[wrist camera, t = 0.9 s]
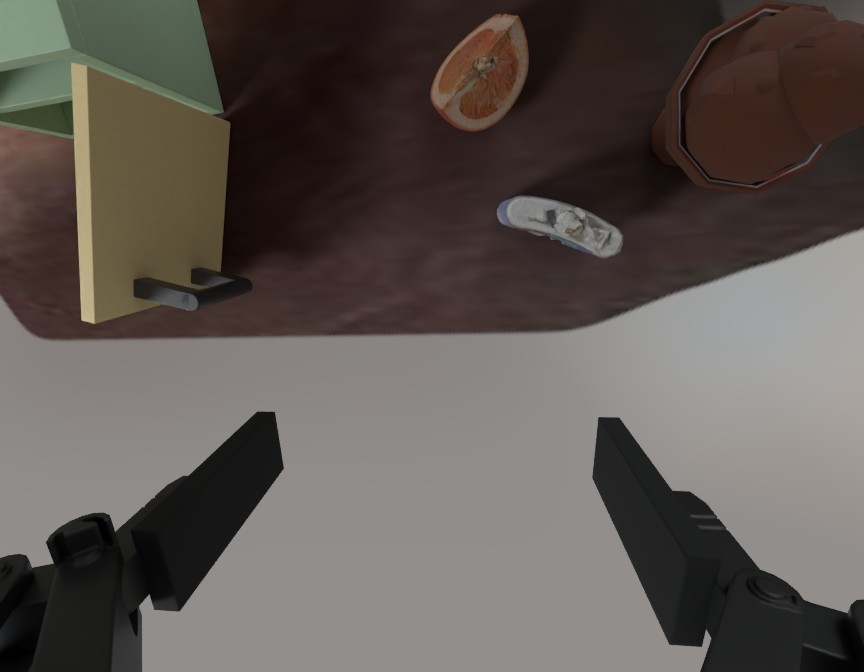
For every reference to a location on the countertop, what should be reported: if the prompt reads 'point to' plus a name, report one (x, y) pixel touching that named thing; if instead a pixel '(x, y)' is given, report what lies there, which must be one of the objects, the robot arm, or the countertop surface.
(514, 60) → the fruit slice
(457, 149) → the countertop surface
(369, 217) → the countertop surface
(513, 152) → the countertop surface
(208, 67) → the cupboard
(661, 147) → the ice cream bowl
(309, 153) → the countertop surface
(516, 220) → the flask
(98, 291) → the door
